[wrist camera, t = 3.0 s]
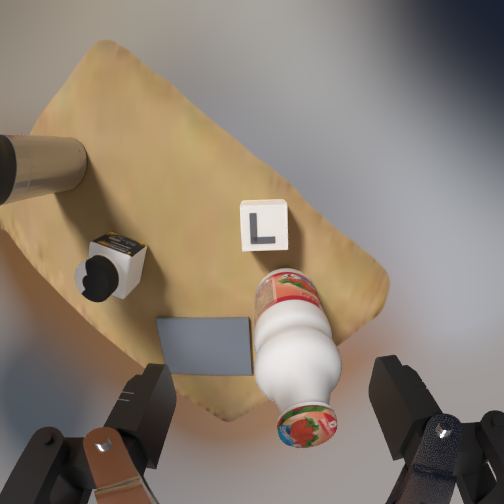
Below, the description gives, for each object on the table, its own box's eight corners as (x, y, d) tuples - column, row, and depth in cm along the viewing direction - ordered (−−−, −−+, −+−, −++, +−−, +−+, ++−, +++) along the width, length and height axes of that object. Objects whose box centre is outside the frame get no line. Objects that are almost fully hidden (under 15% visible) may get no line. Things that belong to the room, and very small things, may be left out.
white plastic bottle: (245, 281, 47) (228, 417, 20) (300, 256, 45) (348, 375, 18) (270, 327, 49) (277, 470, 22) (322, 305, 47) (374, 438, 20)
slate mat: (168, 370, 52) (167, 372, 51) (156, 316, 49) (155, 319, 48) (251, 372, 52) (251, 375, 51) (248, 317, 48) (248, 319, 47)
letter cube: (244, 240, 45) (242, 252, 39) (242, 200, 43) (239, 205, 37) (284, 239, 45) (288, 250, 39) (283, 199, 43) (287, 204, 37)
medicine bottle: (148, 244, 45) (115, 268, 34) (140, 282, 47) (109, 315, 36) (110, 230, 45) (71, 250, 33) (104, 269, 47) (68, 297, 35)
